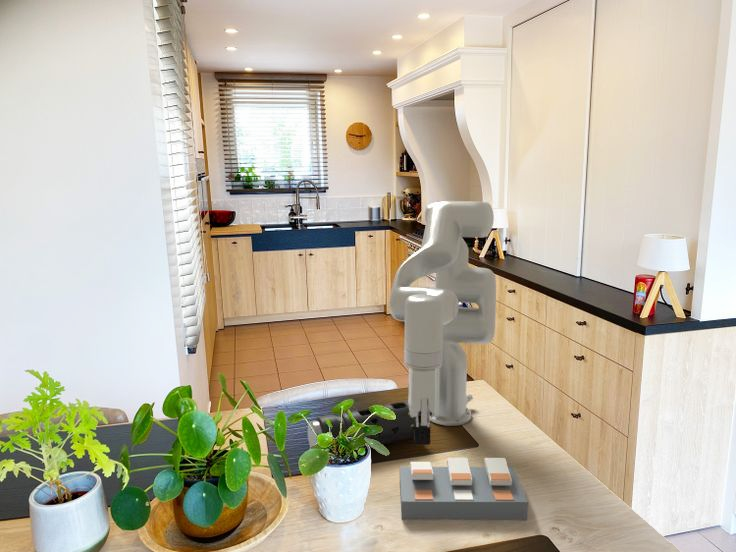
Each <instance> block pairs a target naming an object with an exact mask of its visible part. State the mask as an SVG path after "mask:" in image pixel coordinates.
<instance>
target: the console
mask: <svg viewBox="0 0 736 552" xmlns="http://www.w3.org/2000/svg"><path fill="white" fill-rule="evenodd" d="M469 467H470V472H471V477H472V485H450V478H449V472H448V466H432V470H433V480H412V476H411V468H410V466H399V493H400V494H399V495H400V516H401V520H417V521H418V520H422V521H423V520H426V521H427V520H429V521H430V520H433V521H434V520H437V521H439V520H442V521H444V520H445V521H446V520H447V521H448V520H450V521H453V520H455V521H456V520H459V521H461V520H463V521H528V515H529V514H528V513H529V500H528V499H527V496H526V494H525V491H524V490H523V487H522V484H521V482H520V480H519V477H518V476H517V473H516V470H515V468H514V467H513V466H508V469H509V472H510V476H511V479H512V485H490V483H489V480H488V477H487V471H486V467H485V466H469Z"/></svg>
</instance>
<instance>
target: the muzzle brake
mask: <svg viewBox="0 0 736 552" xmlns="http://www.w3.org/2000/svg"><path fill="white" fill-rule="evenodd" d="M382 406H383V407H386V408H389V409H390V410H391V411H393V412H394V413H395V415H396V419H395V420H387V419H384V418H381V417H379V416H377V415H372V416H371V417H370V418H369V419H368V420H367V421H366V422H365V424H366V425H377V426H381V427H382V428H383V431H382V432H381V433H378V434H376V435H370V436H367V438H370V439H374V440H377V441H379V442H380V443H382V444H381V445H386V444H391V443H395V442H400V441H404V440H408V439H414V423H416V422H415V417H413V418H412V417H411V416H410V415H409V407H408V400H404V401H399V402H394V403H390V404H389V403H388V404H384V405H383V404H382ZM369 408H370V407H368V408H363V409H358V410H353V411H350V412H351V413H352V415H353V417H354V418H355V419H356V421H357V422H358V423H363V422H364V421H365V420H366V419H367V418H368V416H370V415H371V412H370V411H369ZM341 414H342V413H340V414H339V415H338V416H337V415H335V414H326V415H322V416H317V417H316V418H315V419H314V420H312V421H309V422H308V424H310V425H311V427H312V428H313V430H314V431H315V432H316V433H317V434H321V433H327V432H329V427H328V425H327V424H326V422H325V419H329V420H330V422H331V424H332V426H333V427H332V429H331V432H332V435H333V437H334V438H336V437H337V436H338V435H339V431H340V423H341ZM342 422H343V424H342V430H343V432H346V430H347V429H348V428H349V427H350V426H352V421H351V419H348V415H347V412H343V414H342ZM308 424H307V440H308V445H309V448H310V449H311V447H312V446H314V445H315V444H316V443H317V437H316V435H315V434H314V432H313V431H312V430H311V428H310V427H309V425H308ZM412 425H413V426H412Z"/></svg>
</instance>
